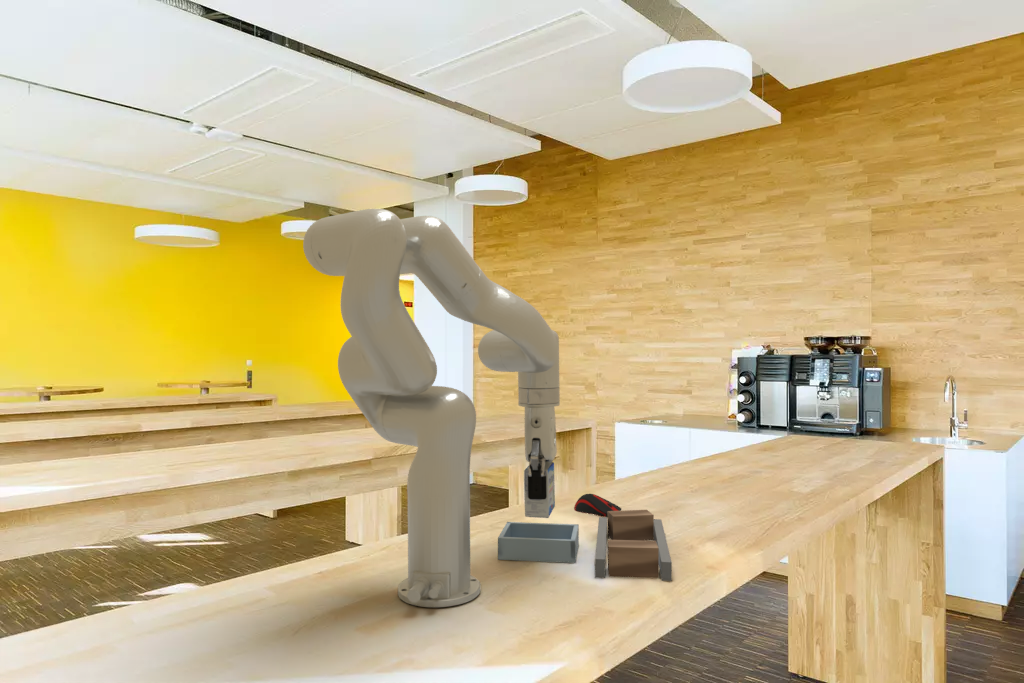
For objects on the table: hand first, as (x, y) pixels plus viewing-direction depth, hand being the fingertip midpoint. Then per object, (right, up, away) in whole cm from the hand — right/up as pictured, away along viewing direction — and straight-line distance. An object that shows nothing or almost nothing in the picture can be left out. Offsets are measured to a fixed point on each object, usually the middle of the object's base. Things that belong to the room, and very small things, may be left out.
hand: (540, 492), depth 125 cm
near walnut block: (+15, -11, -11) cm, 22 cm away
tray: (0, -11, 0) cm, 11 cm away
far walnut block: (+18, -11, +8) cm, 22 cm away
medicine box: (0, -4, 0) cm, 4 cm away
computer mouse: (+14, -11, +29) cm, 34 cm away
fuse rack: (+16, -11, -2) cm, 20 cm away
